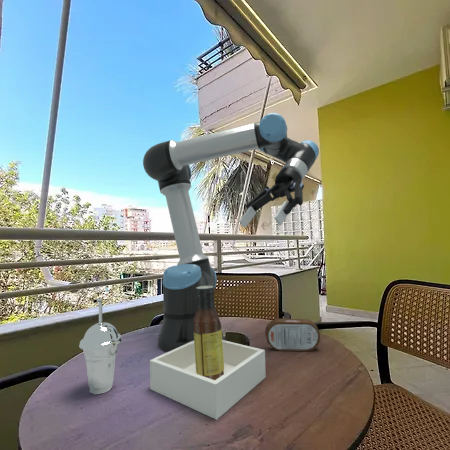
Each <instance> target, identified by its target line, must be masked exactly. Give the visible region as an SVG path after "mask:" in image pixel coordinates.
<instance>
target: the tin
mask: <svg viewBox="0 0 450 450" xmlns="http://www.w3.org/2000/svg"><path fill="white" fill-rule="evenodd" d="M264 333H265V338H266V341H267V343H268V345H269V346H270V347H271V348H272V349H274V350H276V351H280V352H282V351H284V352H285V351H286V352H293V351H294V352H310V351H313V350H315V349H316V348H317V347H318V345H320V344H319V343H320V341H321V333H320V330H319V328H318V326H317V325H316V323H315V322H313V321H312V320H310V319H307V318H275V319H273V320H271V321H269V322H268V324H267V325H266V327H265V331H264Z"/></svg>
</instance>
